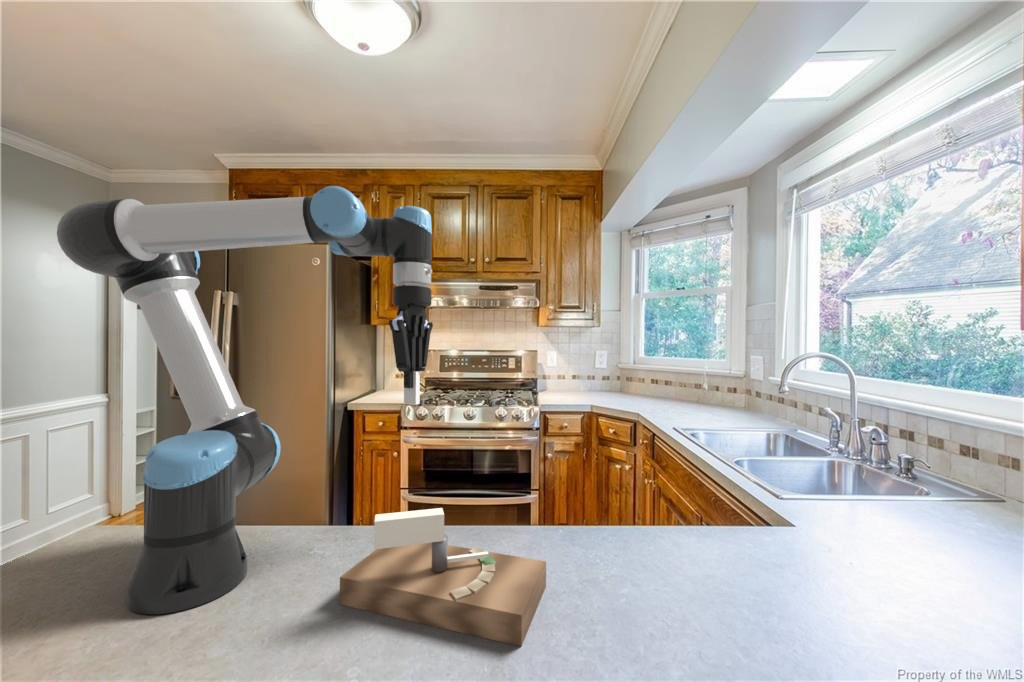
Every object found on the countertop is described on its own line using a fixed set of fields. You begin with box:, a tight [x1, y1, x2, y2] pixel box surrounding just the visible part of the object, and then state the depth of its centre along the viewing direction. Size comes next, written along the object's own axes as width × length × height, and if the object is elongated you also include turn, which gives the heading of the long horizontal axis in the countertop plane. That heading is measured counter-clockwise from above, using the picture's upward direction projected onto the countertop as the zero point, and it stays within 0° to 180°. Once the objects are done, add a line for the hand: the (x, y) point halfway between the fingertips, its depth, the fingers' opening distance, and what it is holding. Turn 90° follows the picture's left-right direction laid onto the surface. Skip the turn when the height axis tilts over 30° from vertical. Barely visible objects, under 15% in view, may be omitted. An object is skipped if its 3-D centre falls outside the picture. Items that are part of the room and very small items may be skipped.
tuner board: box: [339, 542, 547, 647], centre depth 65 cm, size 28×14×4 cm, turn 72°
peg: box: [373, 507, 489, 572], centre depth 64 cm, size 17×3×9 cm, turn 106°
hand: (411, 403), depth 85 cm, fingers closed
